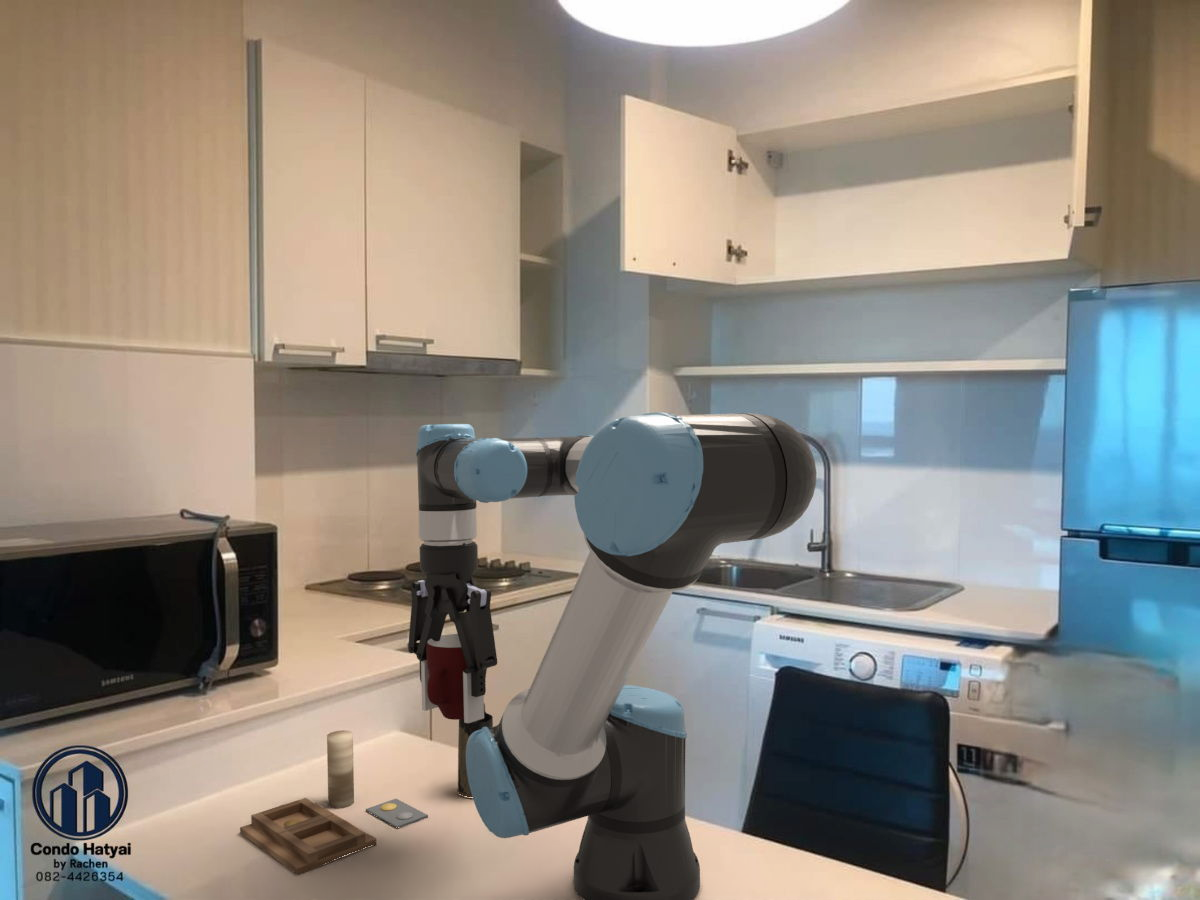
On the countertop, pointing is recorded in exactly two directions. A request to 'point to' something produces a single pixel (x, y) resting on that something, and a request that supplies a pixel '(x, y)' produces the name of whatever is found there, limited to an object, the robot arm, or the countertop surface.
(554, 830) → the countertop surface
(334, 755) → the peg
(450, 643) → the mug
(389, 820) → the key tile
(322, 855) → the board
